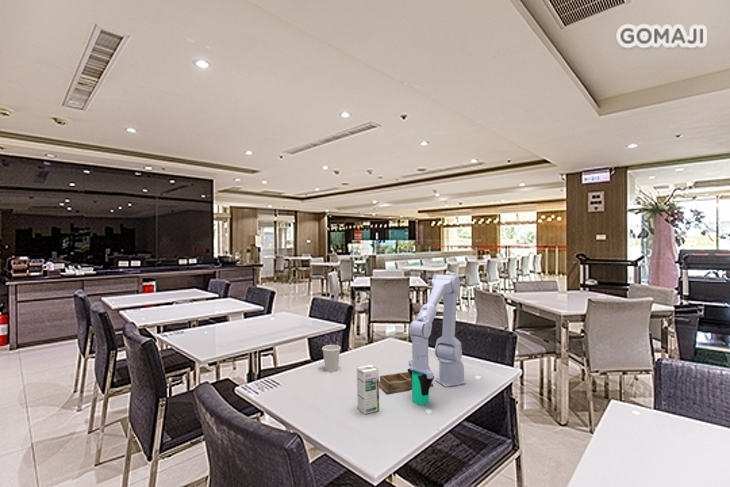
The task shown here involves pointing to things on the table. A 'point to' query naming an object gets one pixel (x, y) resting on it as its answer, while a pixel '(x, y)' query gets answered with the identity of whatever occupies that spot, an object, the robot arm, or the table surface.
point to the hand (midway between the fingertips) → (420, 391)
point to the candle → (418, 390)
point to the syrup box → (368, 389)
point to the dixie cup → (331, 357)
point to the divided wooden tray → (396, 383)
